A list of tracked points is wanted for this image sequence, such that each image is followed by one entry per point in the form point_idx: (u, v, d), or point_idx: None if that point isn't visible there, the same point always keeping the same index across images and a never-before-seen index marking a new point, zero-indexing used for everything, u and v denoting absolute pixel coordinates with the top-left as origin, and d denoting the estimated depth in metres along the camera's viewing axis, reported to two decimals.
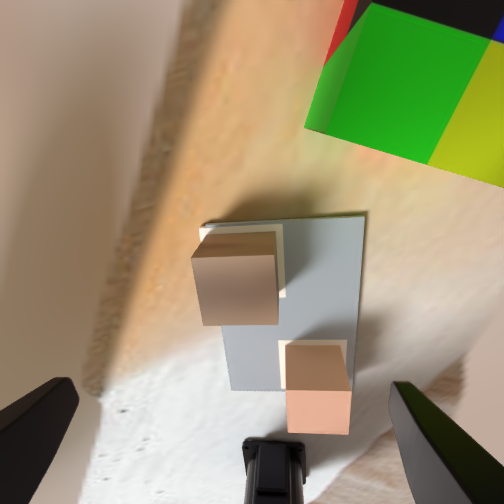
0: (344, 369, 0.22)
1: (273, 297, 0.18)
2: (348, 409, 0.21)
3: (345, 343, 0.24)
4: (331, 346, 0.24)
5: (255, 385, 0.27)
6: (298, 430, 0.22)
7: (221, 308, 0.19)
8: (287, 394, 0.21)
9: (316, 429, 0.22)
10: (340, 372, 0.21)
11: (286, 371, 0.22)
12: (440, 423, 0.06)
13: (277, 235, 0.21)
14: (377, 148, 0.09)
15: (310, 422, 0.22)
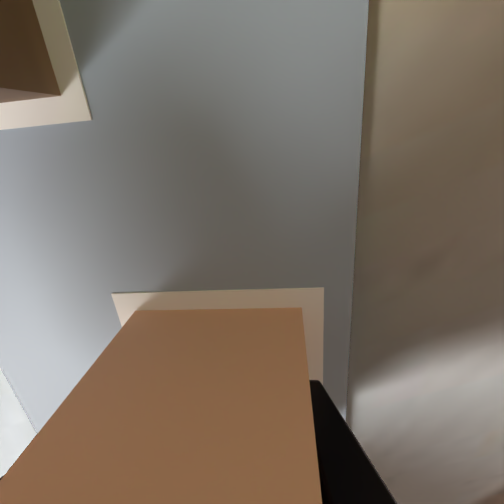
0: (305, 391, 0.05)
1: None
2: None
3: (319, 300, 0.07)
4: (274, 311, 0.07)
5: None
6: None
7: None
8: None
9: None
10: (282, 404, 0.05)
11: (70, 398, 0.05)
12: (329, 420, 0.06)
13: None
14: None
15: None
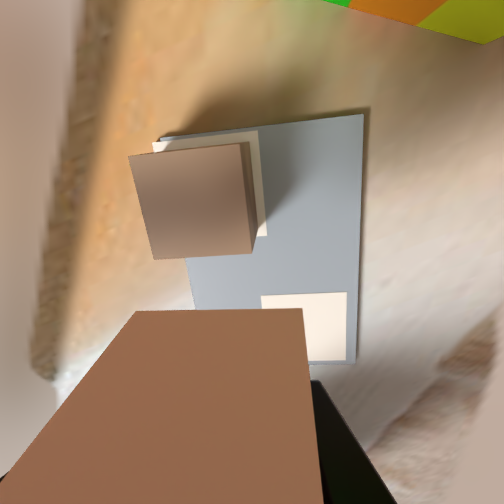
0: (307, 392, 0.05)
1: (242, 212, 0.13)
2: None
3: (344, 297, 0.19)
4: (274, 311, 0.07)
5: None
6: None
7: (175, 232, 0.14)
8: None
9: None
10: (283, 406, 0.05)
11: (71, 399, 0.05)
12: (329, 420, 0.06)
13: (252, 147, 0.16)
14: None
15: None
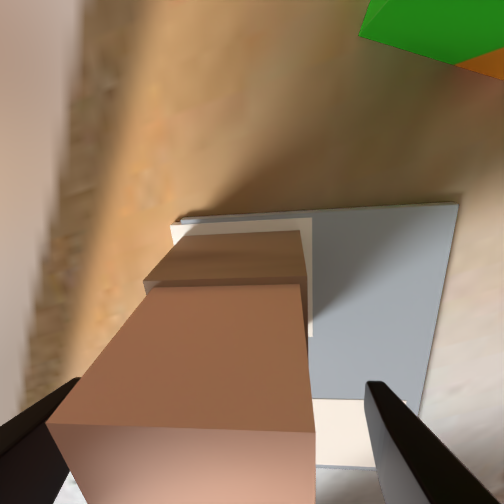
0: (302, 344, 0.06)
1: None
2: (307, 501, 0.05)
3: None
4: (275, 287, 0.08)
5: None
6: None
7: None
8: (60, 439, 0.05)
9: None
10: (283, 353, 0.06)
11: (105, 352, 0.06)
12: (407, 422, 0.06)
13: (302, 237, 0.12)
14: None
15: None
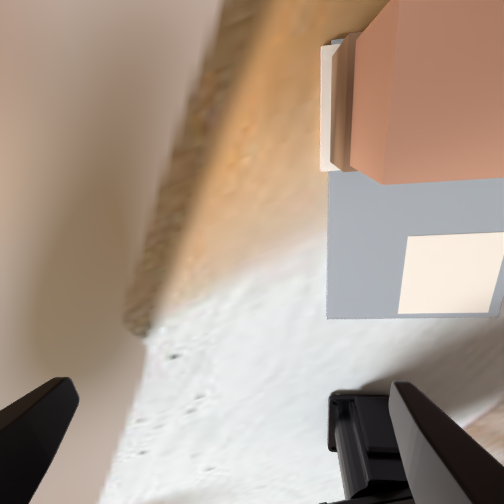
0: None
1: None
2: None
3: None
4: None
5: (362, 310, 0.20)
6: (413, 173, 0.08)
7: None
8: (403, 10, 0.07)
9: (467, 162, 0.08)
10: None
11: None
12: (440, 423, 0.06)
13: None
14: None
15: (453, 135, 0.08)
